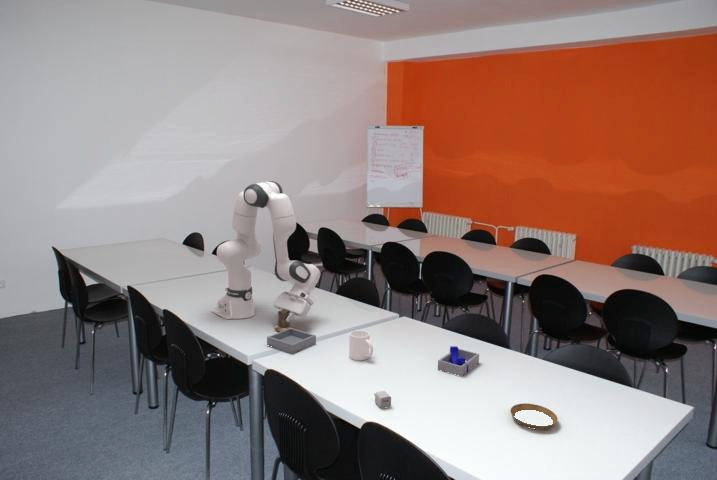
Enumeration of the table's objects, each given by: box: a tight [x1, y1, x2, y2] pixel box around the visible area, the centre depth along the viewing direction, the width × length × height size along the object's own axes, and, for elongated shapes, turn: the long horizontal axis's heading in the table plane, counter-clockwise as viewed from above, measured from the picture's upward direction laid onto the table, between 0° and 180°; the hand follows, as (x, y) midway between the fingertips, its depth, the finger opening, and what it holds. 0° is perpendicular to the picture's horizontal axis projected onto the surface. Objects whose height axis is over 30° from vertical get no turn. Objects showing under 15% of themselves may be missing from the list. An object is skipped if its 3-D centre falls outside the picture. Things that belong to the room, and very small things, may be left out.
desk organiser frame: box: [437, 348, 480, 377], centre depth 216 cm, size 10×17×4 cm, turn 144°
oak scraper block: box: [273, 309, 294, 332], centre depth 251 cm, size 6×6×9 cm
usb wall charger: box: [373, 390, 392, 409], centre depth 185 cm, size 4×7×4 cm, turn 23°
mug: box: [348, 329, 374, 362], centre depth 221 cm, size 12×8×10 cm
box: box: [266, 328, 317, 355], centre depth 234 cm, size 15×15×4 cm
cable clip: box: [449, 345, 469, 373], centre depth 216 cm, size 12×4×6 cm, turn 5°
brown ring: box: [509, 403, 558, 430], centre depth 176 cm, size 15×15×3 cm
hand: (282, 319), depth 250 cm, fingers closed on oak scraper block, 4 cm apart
